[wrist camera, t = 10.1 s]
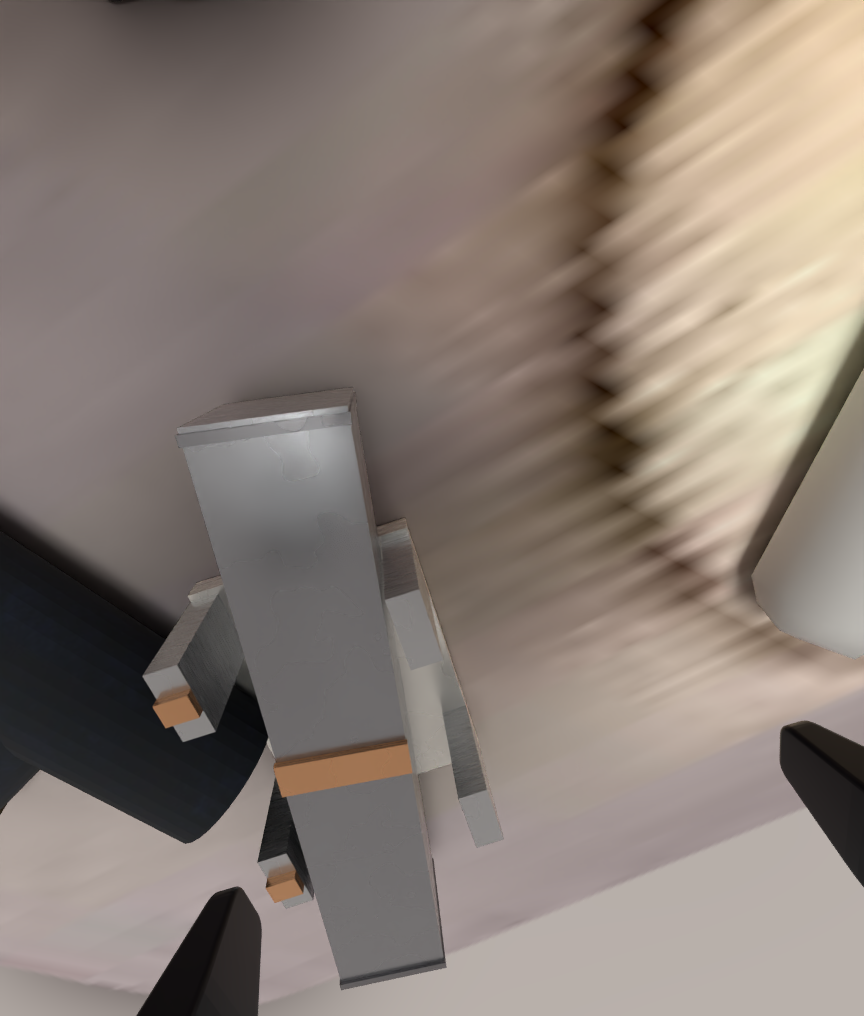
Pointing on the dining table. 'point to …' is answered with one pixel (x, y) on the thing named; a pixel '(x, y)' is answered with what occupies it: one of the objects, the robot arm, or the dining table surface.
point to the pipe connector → (105, 707)
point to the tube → (822, 544)
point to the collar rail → (197, 712)
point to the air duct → (324, 665)
